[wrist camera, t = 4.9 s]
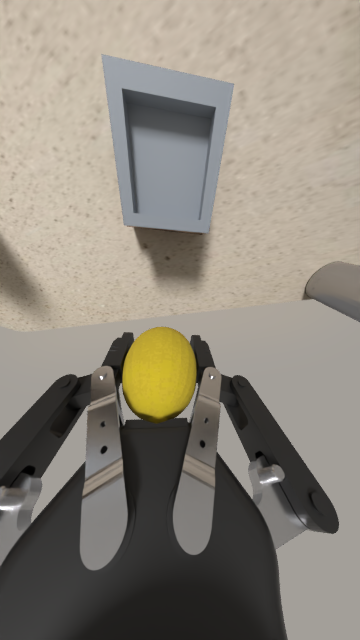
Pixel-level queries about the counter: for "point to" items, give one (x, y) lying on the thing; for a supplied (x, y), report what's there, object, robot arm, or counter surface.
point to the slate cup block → (166, 143)
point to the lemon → (159, 375)
